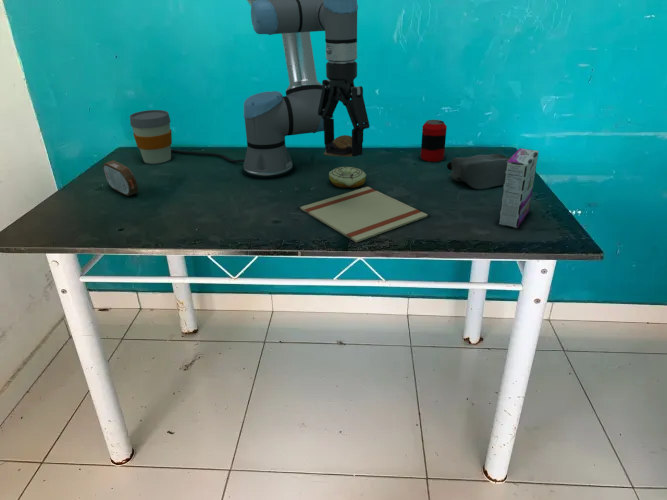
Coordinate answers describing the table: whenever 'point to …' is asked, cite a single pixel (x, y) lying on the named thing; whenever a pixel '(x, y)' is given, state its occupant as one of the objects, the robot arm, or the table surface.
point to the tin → (120, 178)
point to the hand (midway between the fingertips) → (342, 149)
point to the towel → (363, 213)
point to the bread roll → (340, 147)
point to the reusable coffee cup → (152, 135)
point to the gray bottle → (479, 170)
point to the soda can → (433, 140)
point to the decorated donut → (347, 177)
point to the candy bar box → (518, 187)
